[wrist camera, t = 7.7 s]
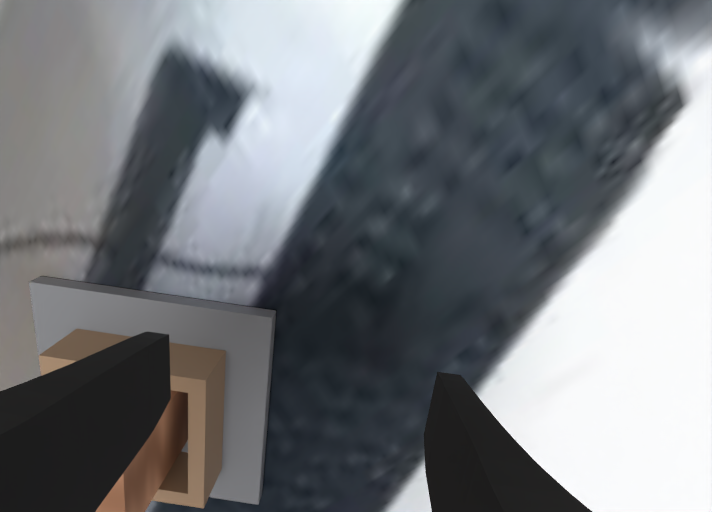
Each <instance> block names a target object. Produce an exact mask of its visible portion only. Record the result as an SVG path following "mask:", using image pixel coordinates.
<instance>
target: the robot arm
mask: <svg viewBox="0 0 712 512" xmlns="http://www.w3.org/2000/svg"><path fill="white" fill-rule="evenodd" d="M170 399H171V382H170V346H169V334H162V333H155V332H148V331H147V332H144V333H141V334H138V335H136V336H133V337H131V338H128V339H126V340H124V341H121V342H119V343H117V344H114V345H112V346H110V347H108V348H105V349H103V350H101V351H99V352H96V353H94V354H92V355H90V356H87V357H85V358H83V359H81V360H78V361H76V362H74V363H72V364H69V365H67V366H64V367H62V368H59V369H57V370H54V371H52V372H49V373H47V374H45V375H42V376H40V377H37V378H35V379H32V380H30V381H27V382H25V383H22V384H19V385H17V386H14V387H11V388H9V389H6V390H3V391H0V512H95V511H96V510H97V508H98V507H99V506H100V504H101V503H102V502H103V500H104V499H105V497H106V496H107V495H108V493H109V492H110V491H111V489H112V488H113V486H114V485H115V484H116V482H117V481H118V480H119V478H120V477H121V476H122V474H123V473H124V471H125V470H126V469H127V467H128V466H129V465H130V463H131V462H132V460H133V459H134V458H135V456H136V455H137V454H138V452H139V451H140V449H141V448H142V447H143V445H144V444H145V442H146V441H147V440H148V438H149V437H150V435H151V434H152V432H153V431H154V429H155V427H156V425H157V424H158V422H159V420H160V418H161V416H162V414H163V413H164V411H165V409H166V407H167V405H168V403H169V401H170ZM424 447H425V468H426V477H427V483H428V490H429V496H430V502H431V508H432V512H592V511H591V510H589V509H588V508H587V507H586V506H584V505H583V504H582V503H581V502H580V501H578V500H577V499H576V498H575V497H574V496H572V495H571V494H570V493H569V492H568V491H567V490H566V489H564V488H563V487H562V486H561V485H560V484H559V483H558V482H557V481H556V480H555V479H553V478H552V477H551V476H550V475H549V474H548V473H547V472H546V471H545V470H544V469H543V468H542V467H540V466H539V465H538V464H537V463H536V462H535V461H534V460H533V459H532V458H531V457H530V456H529V454H528V453H527V452H526V451H525V450H524V449H523V448H522V447H521V446H520V445H519V444H518V443H517V442H516V441H515V440H514V439H513V438H512V436H511V435H510V434H509V433H508V432H507V431H506V430H505V429H504V428H503V426H502V425H501V424H500V423H499V422H498V421H497V419H496V418H495V417H494V416H493V415H492V413H491V412H490V411H489V410H488V409H487V407H486V406H485V405H484V404H483V402H482V401H481V400H480V399H479V398H478V396H477V395H476V394H475V392H474V391H473V390H472V389H471V387H470V386H469V385H468V384H467V382H466V381H465V380H464V379H463V378H462V376H461V375H456V374H449V373H441V372H437V376H436V381H435V386H434V390H433V395H432V400H431V404H430V409H429V414H428V418H427V423H426V428H425V432H424Z"/></svg>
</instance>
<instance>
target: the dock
mask: <svg viewBox="0 0 712 512" xmlns="http://www.w3.org/2000/svg"><path fill="white" fill-rule="evenodd" d="M29 287H30V295H31V302H32V310H33V318H34V326H35V333H36V341H37V349H38V357H39V364H40V372H41V376H42V375H45V374H47V373H49V372H52V371H54V370H57V369H59V368H62V367H64V366H67V365H69V364H72V363H74V362H76V361H78V360H81V359H83V358H85V357H87V356H90V355H92V354H94V353H96V352H99V351H101V350H103V349H105V348H108V347H110V346H112V345H114V344H117V343H119V342H121V341H124V340H126V339H128V338H131V337H133V336H136V335H138V334H141V333H144V332H147V331H148V332H155V333H162V334H169V346H170V382H171V390H172V391H179V392H185V393H188V441H187V442H186V444H185V446H184V447H183V449H182V451H181V452H180V454H179V456H178V457H177V459H176V461H175V462H174V464H173V466H172V467H171V469H170V471H169V472H168V474H167V476H166V477H165V479H164V481H163V482H162V484H161V486H160V487H159V489H158V491H157V492H156V494H155V496H154V497H153V499H152V500H153V501H159V502H166V503H172V504H178V505H185V506H191V507H197V508H204V507H205V504H206V502H207V500H208V498H209V497H212V498H218V499H225V500H231V501H238V502H244V503H250V504H257V505H258V504H259V501H260V498H261V495H262V489H263V476H264V463H265V450H266V437H267V424H268V411H269V398H270V385H271V372H272V359H273V346H274V333H275V320H276V311H275V310H269V309H262V308H255V307H248V306H241V305H235V304H228V303H221V302H214V301H208V300H201V299H194V298H187V297H180V296H174V295H167V294H160V293H153V292H147V291H140V290H133V289H126V288H119V287H113V286H106V285H99V284H92V283H86V282H79V281H72V280H65V279H58V278H52V277H45V276H40V277H38V278H36V279H34V280H32V281H30V282H29Z"/></svg>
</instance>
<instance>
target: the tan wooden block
mask: <svg viewBox="0 0 712 512" xmlns="http://www.w3.org/2000/svg"><path fill="white" fill-rule="evenodd" d="M187 441H188V393H185V392H179V391H172V390H171V399H170V401H169V403H168V405H167V407H166V409H165V411H164V413H163V414H162V416H161V418H160V420H159V422H158V424H157V425H156V427H155V429H154V431H153V432H152V434H151V435H150V437H149V438H148V440H147V441H146V442H145V444H144V445H143V447H142V448H141V449H140V451H139V452H138V454H137V455H136V456H135V458H134V459H133V460H132V462H131V463H130V465H129V466H128V467H127V469H126V470H125V471H124V473H123V474H122V476H121V477H120V478H119V480H118V481H117V482H116V484H115V485H114V486H113V488H112V489H111V491H110V492H109V493H108V495H107V496H106V497H105V499H104V500H103V502H102V503H101V504H100V506H99V507H98V508H97V510H96V511H95V512H145V510H146V509H147V507H148V505H149V504H150V502H151V501H152V499H153V497H154V496H155V494H156V492H157V491H158V489H159V487H160V486H161V484H162V482H163V481H164V479H165V477H166V476H167V474H168V472H169V471H170V469H171V467H172V466H173V464H174V462H175V461H176V459H177V457H178V456H179V454H180V452H181V451H182V449H183V447H184V446H185V444H186V442H187Z"/></svg>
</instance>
